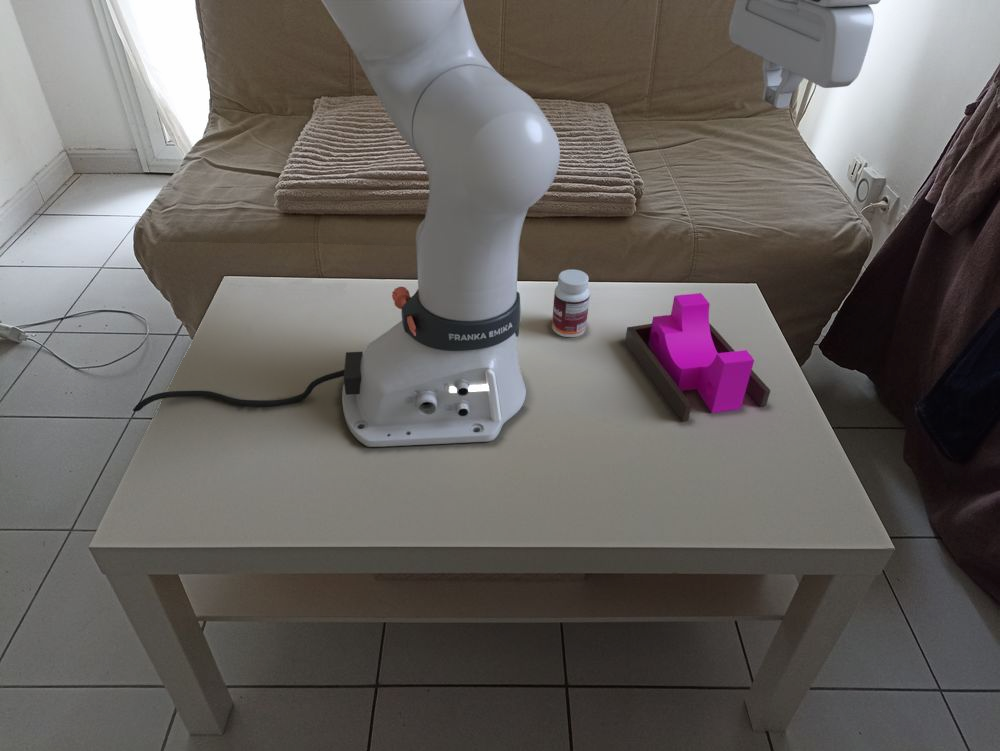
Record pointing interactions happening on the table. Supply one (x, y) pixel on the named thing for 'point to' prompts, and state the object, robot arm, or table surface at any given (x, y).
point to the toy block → (699, 355)
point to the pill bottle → (571, 303)
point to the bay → (666, 383)
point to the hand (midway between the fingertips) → (774, 104)
